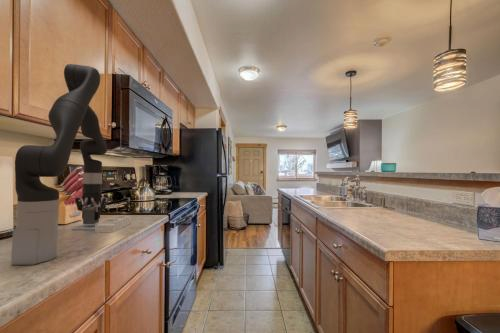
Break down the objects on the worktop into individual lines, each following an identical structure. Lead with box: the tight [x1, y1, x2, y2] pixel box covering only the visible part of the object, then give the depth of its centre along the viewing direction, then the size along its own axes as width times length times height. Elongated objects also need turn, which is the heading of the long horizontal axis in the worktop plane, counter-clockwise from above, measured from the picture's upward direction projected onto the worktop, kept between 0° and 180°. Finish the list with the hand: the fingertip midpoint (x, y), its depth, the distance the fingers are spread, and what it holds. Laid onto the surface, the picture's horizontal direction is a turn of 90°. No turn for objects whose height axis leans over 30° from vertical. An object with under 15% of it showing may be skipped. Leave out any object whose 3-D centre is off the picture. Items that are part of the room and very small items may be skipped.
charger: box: [82, 206, 100, 225], centre depth 111 cm, size 4×4×7 cm
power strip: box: [94, 215, 132, 233], centre depth 111 cm, size 18×7×4 cm, turn 3°
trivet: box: [72, 223, 98, 231], centre depth 111 cm, size 10×10×1 cm
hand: (91, 219), depth 111 cm, fingers open, 4 cm apart
